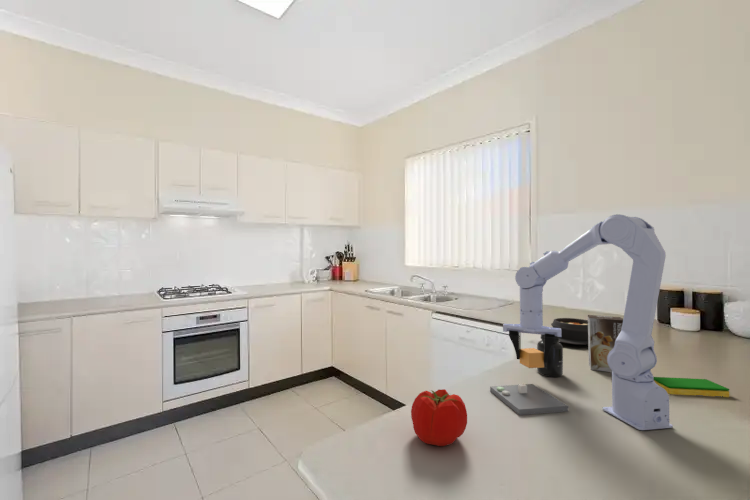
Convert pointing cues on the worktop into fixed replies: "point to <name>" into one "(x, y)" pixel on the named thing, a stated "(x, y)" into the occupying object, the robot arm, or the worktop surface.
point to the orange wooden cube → (532, 358)
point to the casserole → (572, 330)
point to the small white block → (522, 388)
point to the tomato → (438, 417)
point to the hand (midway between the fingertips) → (531, 359)
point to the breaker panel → (528, 399)
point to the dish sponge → (691, 386)
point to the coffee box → (602, 339)
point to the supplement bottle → (552, 359)
